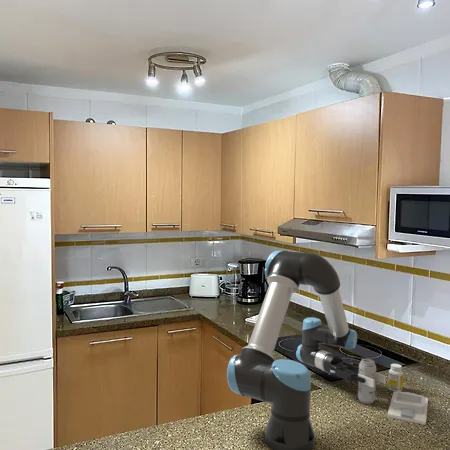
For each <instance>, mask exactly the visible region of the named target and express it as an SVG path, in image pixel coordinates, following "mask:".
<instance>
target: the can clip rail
mask: <svg viewBox="0 0 450 450" xmlns="http://www.w3.org/2000/svg"><path fill="white" fill-rule="evenodd" d="M428 403H429V398H428V397H424V395H421V394H420V395H419V394H417V393H413V392H410V391H409V392H408V391H396V392H395V391H392V397H391V399H390V404H389V407H388V410H387V411H388V412H387V417H388V418H392V419H397V420H401V421H405V422H410V423H414V424H419V425H423V426H426V425H427V417H428Z"/></svg>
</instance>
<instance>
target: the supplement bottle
mask: <svg viewBox="0 0 450 450" xmlns="http://www.w3.org/2000/svg"><path fill="white" fill-rule="evenodd" d="M403 385H404V372H403V370H402V365H401V364H399V363H391V364H390V369H389V370H388V384H387V388H388V390H390V391H392V392H396V391H400V392H403Z"/></svg>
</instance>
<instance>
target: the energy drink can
mask: <svg viewBox="0 0 450 450" xmlns="http://www.w3.org/2000/svg"><path fill="white" fill-rule="evenodd" d="M358 364H359V374H361V375H364V376H366V377H369V378H371V379H374V380H375V383H374V387H370V386H368V385H365V384H363V383H360V382H358V381H357V384H358V387H357V398H358V400H359V402H360V403H362V404H365V405H371V404H373V403H374V401H376V388H377V387H376V382H377V381H376V372H377V365H376V362H375V360H374V359H370V358H361V360H360V362H359V363H358Z"/></svg>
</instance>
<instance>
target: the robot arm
mask: <svg viewBox="0 0 450 450" xmlns="http://www.w3.org/2000/svg"><path fill="white" fill-rule="evenodd" d="M264 266H265V268H264V275H265V278H266V282H267V284H268V288H267V290H266V293H265V295H264V299H263V301H262V304H261V308H260V310H259V313H258V316H257V319H256V321H255V324H254V327H253V330H252V333H251V334H250V335H251V336H250V339H249V342H248V344H247V345H245V346H243V347H242V348H241V350H240V353H239V354H234V355H233V356H232V357H231V358H230V359H229V362H228V365H227V369H226V379H227V385H228V387H229V389H230V390H231V391H232V393H234V394H237V395H240V396H242V397H247V398H250V399H255V400H257V401H262V402H264V403H269V404H270V407H271V408H270V416H269V418H268V421H267V424H266V426H265V430H264V442H265V443H266V445H267V446H268V447H270V448H271V449H272V450H312V449H314V448H315V444H316V443H315V442H316V435H315V432H314V428H313V424H312V422H311V421H312V420H311V415H310V412H311V391H312V389H311V388H312V380H311V378H312V377H311V372H310V370H309V369H308V368H307V366H306V365H308V366H310V367H314V368H316V369H319V370H321V371H322V372H327V373H328V374H330V375H333V376H336V377H338V378H341V379H343V380H345V381H347V382H350V383H352V382H353V384H358V382H360V383H363V384H365V385H368V386H370V387H374V383H375V380H374V379H371V378H369V377H366V376H364V375H361V374H359V364H360V363H359V362H358V363H357V362H355V361H353V360H352V361H350V362H347V361H343V359H342V358H341V356H339V355H337V354H335V353H331V352H329V351H326V350H323V349H321V344H322V345H328V346H332V347H339V348H343V349H350V350H352V349H355V347H356V346H357V342H358V333H357V331H356V330H354V329H351V328H349V323H348V320H347V317H346V312H345V309H344V305H343V300H342V297H341V296H342V295H341V293H340V287H341V280H340V277H339V275H338V273H337V271H336V269H335V268H334V266H333V265H332V264H331V262H329V261H328V260H327V259H326V258H324V257H323V256H322V255H321V254H318V253H315V252H306V251H305V252H302V251H290V250H285V249H284V250H275V251H272V252H271V253H270V254H269V256H268V257H267V260H266V262H265V265H264ZM300 285H302V286H303V285H304V286H311V287H313V290H314V292H315V293H317V294H318V297H319V300H320V303H321V307H322V309H323V313H324V316H325V319H326V323H327V325H325V324H322V320H321V319H320V318H317V317H306V318H304V319H303V320H302V321H303V322H302V328H301V329H302V334H301V336H302V340H301V341H302V343H301V344H299V345H298V346H297V350H296V352H295V355H296V358H297V360H299V361H300V362H298V361H297V360H292V359H284V358H282V359H279V358H278V359H275V356H274V351H275V348H276V345H277V341H278V338H279V336H280V332H281V329H282V326H283V323H284V320H285V317H286V314H287V311H288V307H289V304H290V303H291V299H292V296H293V295H292V294H294V293H295V294H296V293H297V292H298V290H299V288H300ZM302 363H303V364H302ZM386 378H387V377H386V375H384V374H382V373H380V372H377V371H376V382H378V383H379V382H380V383H381V384H386Z"/></svg>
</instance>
